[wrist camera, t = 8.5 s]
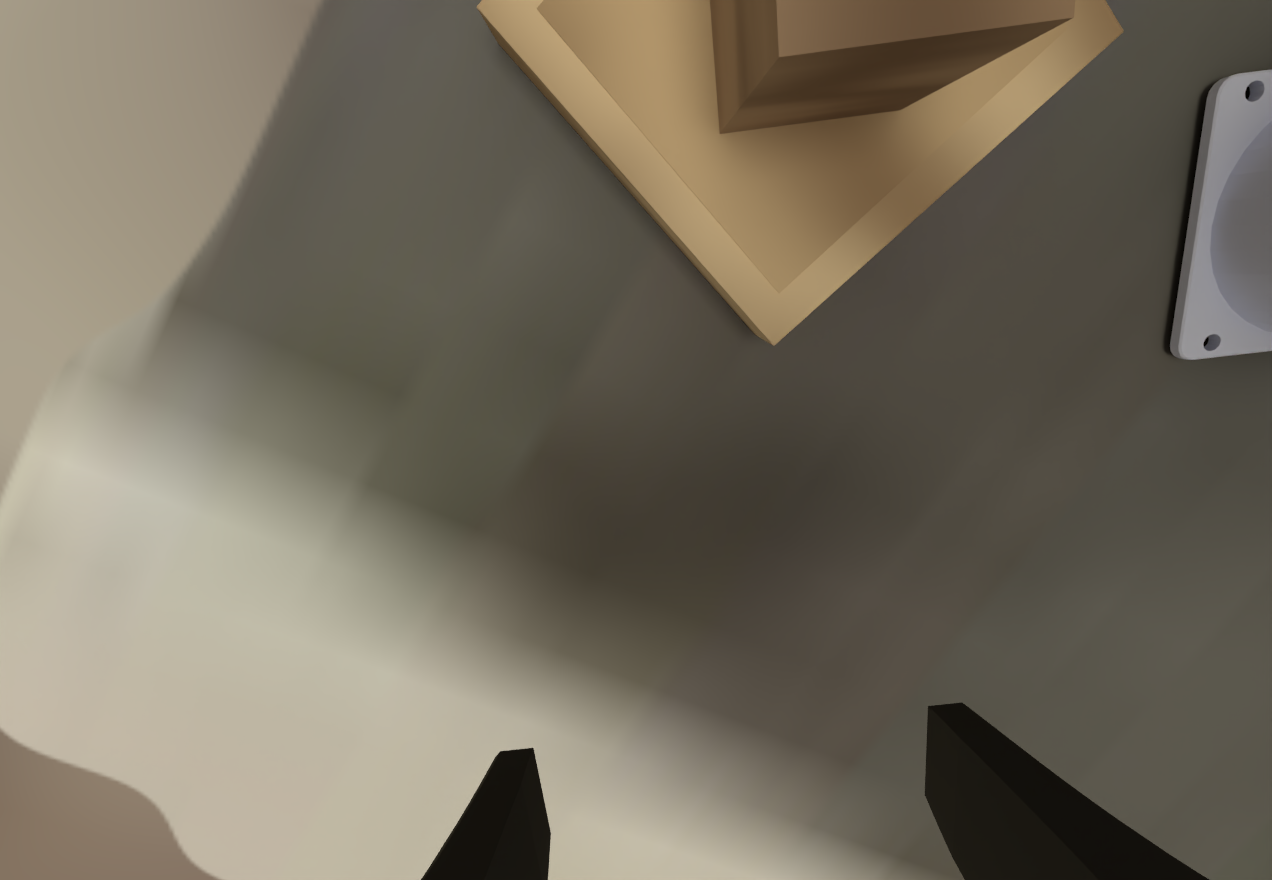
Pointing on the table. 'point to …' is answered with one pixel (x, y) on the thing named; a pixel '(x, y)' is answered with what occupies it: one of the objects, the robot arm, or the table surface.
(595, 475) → the table surface
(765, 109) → the walnut block
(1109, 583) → the table surface
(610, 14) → the oak plinth
